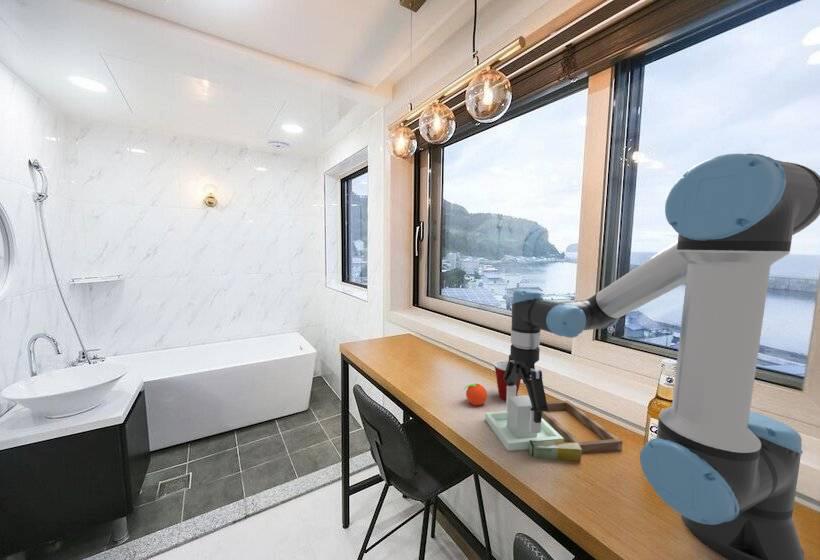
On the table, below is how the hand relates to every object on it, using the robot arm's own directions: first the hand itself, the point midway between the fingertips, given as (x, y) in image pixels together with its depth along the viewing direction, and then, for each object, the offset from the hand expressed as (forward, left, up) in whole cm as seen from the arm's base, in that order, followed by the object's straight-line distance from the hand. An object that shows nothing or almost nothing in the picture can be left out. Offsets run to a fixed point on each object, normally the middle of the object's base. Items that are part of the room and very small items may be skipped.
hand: (521, 418), depth 89 cm
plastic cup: (+22, -6, -5) cm, 23 cm away
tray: (0, 0, -5) cm, 5 cm away
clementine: (+19, +7, -5) cm, 21 cm away
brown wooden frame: (+1, -16, -5) cm, 17 cm away
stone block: (0, 0, -4) cm, 4 cm away
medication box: (-11, -3, -5) cm, 12 cm away
